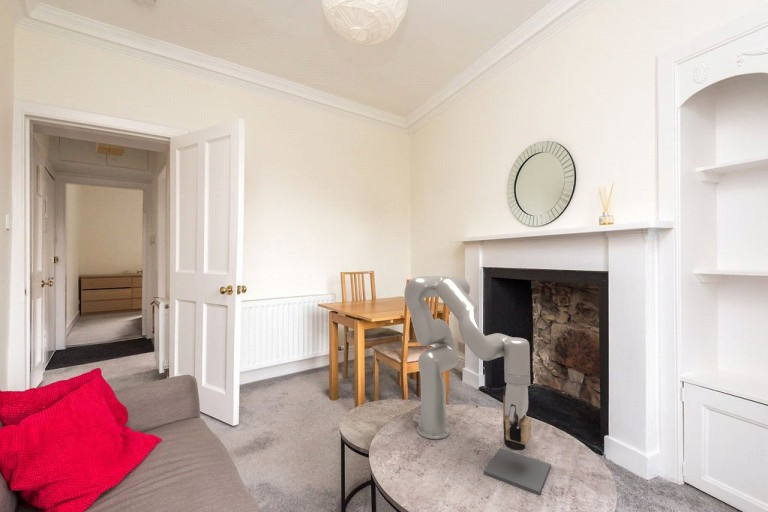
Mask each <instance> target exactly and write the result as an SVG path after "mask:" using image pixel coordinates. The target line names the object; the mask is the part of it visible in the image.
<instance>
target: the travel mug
mask: <svg viewBox="0 0 768 512" xmlns="http://www.w3.org/2000/svg"><path fill="white" fill-rule="evenodd" d="M502 388H503V389H502V390H503V391H502V392H503V393H502V397H503V400H502V401H503V402H502V405H503V406H502V407H503V408H502V409H503V410H502V411H503V412H502V413H503V414H502V417H503V418H502V422H503V424H502V425H503V442H504V445H505V447H507V448H509V449H511V450H514V451H515V450H516V451H522V450H524V449H525V448H526V445H524V444H520V443H517V442H513V441H510V440H507V439H506V419H507V417H508V416H506V415H505V393H506V386H503V387H502ZM509 415H510V414H509Z"/></svg>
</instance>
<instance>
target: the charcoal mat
mask: <svg viewBox="0 0 768 512" xmlns="http://www.w3.org/2000/svg"><path fill="white" fill-rule="evenodd" d="M551 469H552V465H551V464H550V463H548V462H545V461H542V460H539V459H536V458H533V457H530V456H527V455H524V454H520V453H517V452H514V451H512V450H508V449H506V448H502V447H499V449H498V450H497V451H496V453H495V454H494V456H493V457H492V459H491V460H490V462H489V463H488V464H487V465H486V467H485V469H483V475H484V476H485V475H486V476H488V477H490V478H493V479H496V480H499V481H501V482H503V483H505V484H508V485H511V486H513V487H517V488H519V489H522V490H524V491H527V492H530V493H532V494H535V495H537V496H540V495H541V494H542V492H543V491H542V490H543V488H544V486H545V483H546V480H547V478H548V476H549V474H550V470H551Z"/></svg>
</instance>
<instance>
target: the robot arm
mask: <svg viewBox="0 0 768 512" xmlns="http://www.w3.org/2000/svg"><path fill="white" fill-rule="evenodd" d="M470 287H471V286H470V283H469V282H468V281H467V280H466V279H465V278H463V277H460V276H443V275H442V276H441V275H440V276H439V275H434V276H433V275H432V276H431V275H430V276H426V275H425V276H416V277H414V278H412V279H410V280H409V281H407V283H406V286H405V288H404V301H405V303H406V306H407V308H408V312H409V315H410V320H411V323H412V328H413V331H414V336H415V339H416V341H417V343H418V344H419V345H420V346H423V347H426V346H432V345H434V347H432V348H429V349H428V348H427V349H426V350H424V351H422V352H421V353H420V355H419V357H418V359H417V360H418V361H417V362H418V363H417V364H418V370H419V376H420V414H417V413H413V417H412V422H415V423H417V426H416V431H417V433H418V435H419V436H421V437H423V438H426V439H430V440H443V439H444V438H445V439H446V438H447V437H448V436H449V435H450V433H451V432H450V431H451V429H450V427H449V426H448V425H447V421H446V412H447V411H446V410H447V409H446V407H447V406H446V398H447V397H446V396H447V395H446V392H447V391H446V381H445V379H444V377H443V373H444V372H446V371H449V370H452V369H454V368H455V367H456V366H457V364H458V360H459V359H458V352H457V347H456V344H455V340H454V337H453V333H452V330H451V327H450V326H449V324H448V323H447V322H446V321H445V320H443V319H441V318H436V319H434V317H433V313H432V310H431V307H430V306H429V304H428V303H427V302H426V300H425V298H437V297H439V298H440V299H441V300H442V302H443V303H444V305H446V307H447V308H448V309H449V311H451V313H452V314H453V315H454V317H455V319H456V320H457V322H458V328H459V329H458V330H459V332H460V333H459V334H460V335H461V338H462V340H463V342H464V343H465V344H466V346H467V347H468V348H469V350H470V351H471V353H473V355H475V357H476V358H478V359H480V360H482V361H485V362H489V361H492V360H496V359H498V358H502V357H503V359H504V360H503V361H504V366H503V367H504V383H506V386H505V387H506V393H505V415H506V416H509V414H510V416H509V427H510V439H511V440H514V441H517V442H521V428H520V419H522V418H523V416H526V417H527V412H528V409H529V389H528V388H529V386H531V354H530V353H531V351H530V350H531V349H530V348H531V347H530V342H529V340H527V339H526V338H522V337H516V336H515V337H512V336H509V335H507V334H503V333H500V332H498V333H497V332H495V333H492V334H488V335H485V334H484V332H482V330H481V329H480V328H479V326H478V324H477V322H476V320H475V315H476V313H477V311H478V305H477V304H476V302H475V301H474V300H473V299H472V297H470V296H469V294H470V293H471V288H470ZM515 415H518V417H515ZM515 419H516V420H517V423H516V422H515Z"/></svg>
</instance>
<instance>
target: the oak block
mask: <svg viewBox="0 0 768 512" xmlns="http://www.w3.org/2000/svg"><path fill="white" fill-rule="evenodd" d="M509 416H510V415H509ZM509 416H508V417H507V419H506V439H507V440H510V441H513V442H517V441H514V440H511V439H510V427H509ZM515 417H518V415H515ZM515 422H516V423H517V420H516V419H515ZM531 422H532V420H531V417H530V416H527V415H526V416H523V418H522V419H520V428H521V442H517V443H520V444H524V445H525V446H527V445H528V443H529V441H530V440H531V439H532V427H531V426H532V423H531Z"/></svg>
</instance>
